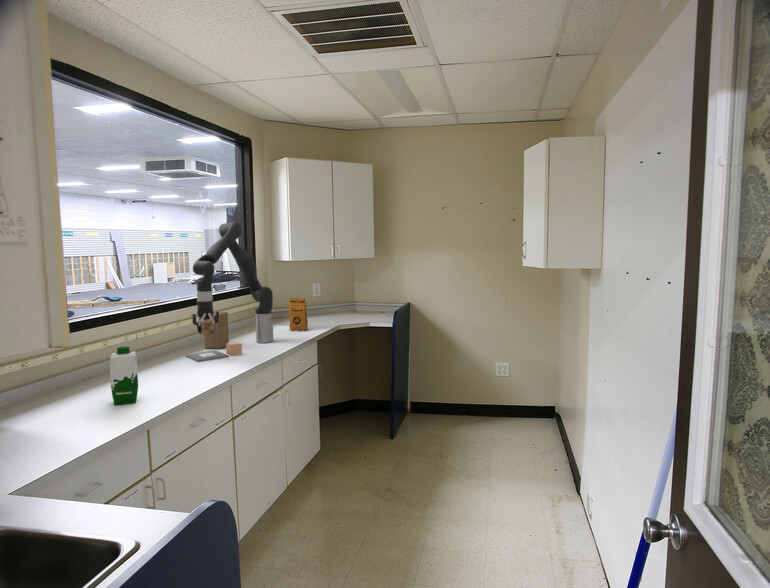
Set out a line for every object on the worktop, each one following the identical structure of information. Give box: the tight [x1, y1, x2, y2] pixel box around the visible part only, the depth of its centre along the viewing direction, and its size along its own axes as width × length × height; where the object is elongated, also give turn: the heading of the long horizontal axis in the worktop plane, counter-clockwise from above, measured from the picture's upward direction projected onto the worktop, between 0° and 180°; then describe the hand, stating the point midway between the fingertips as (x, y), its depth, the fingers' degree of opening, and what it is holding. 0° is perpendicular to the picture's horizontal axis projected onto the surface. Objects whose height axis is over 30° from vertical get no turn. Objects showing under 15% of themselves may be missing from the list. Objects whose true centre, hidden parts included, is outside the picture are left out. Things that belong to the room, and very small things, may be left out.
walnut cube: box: [197, 321, 214, 336], centre depth 252 cm, size 6×6×6 cm
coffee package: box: [288, 297, 309, 332], centre depth 330 cm, size 10×12×22 cm
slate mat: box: [185, 349, 230, 363], centre depth 253 cm, size 16×16×1 cm
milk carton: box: [109, 346, 139, 406], centre depth 180 cm, size 9×9×20 cm
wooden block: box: [203, 310, 230, 350], centre depth 276 cm, size 10×10×20 cm
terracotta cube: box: [225, 341, 243, 357], centre depth 259 cm, size 6×6×6 cm
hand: (206, 332), depth 252 cm, fingers closed on walnut cube, 6 cm apart
